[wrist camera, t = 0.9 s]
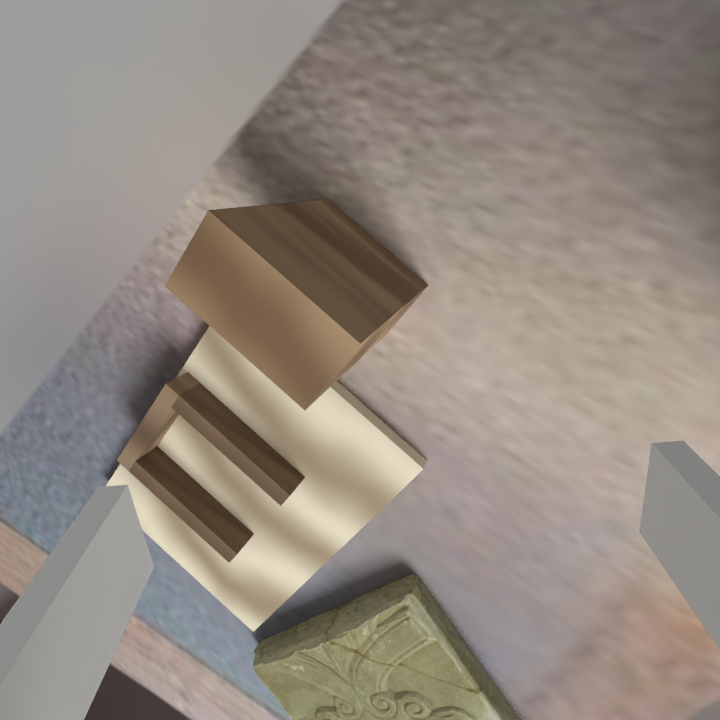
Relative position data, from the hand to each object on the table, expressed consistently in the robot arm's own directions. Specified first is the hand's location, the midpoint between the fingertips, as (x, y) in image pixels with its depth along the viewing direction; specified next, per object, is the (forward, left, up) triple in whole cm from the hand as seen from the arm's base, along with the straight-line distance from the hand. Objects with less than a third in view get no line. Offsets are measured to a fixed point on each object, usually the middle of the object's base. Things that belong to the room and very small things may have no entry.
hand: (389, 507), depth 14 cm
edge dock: (+21, -5, -21) cm, 29 cm away
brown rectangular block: (+3, -8, -21) cm, 22 cm away
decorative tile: (+29, +16, -21) cm, 39 cm away
